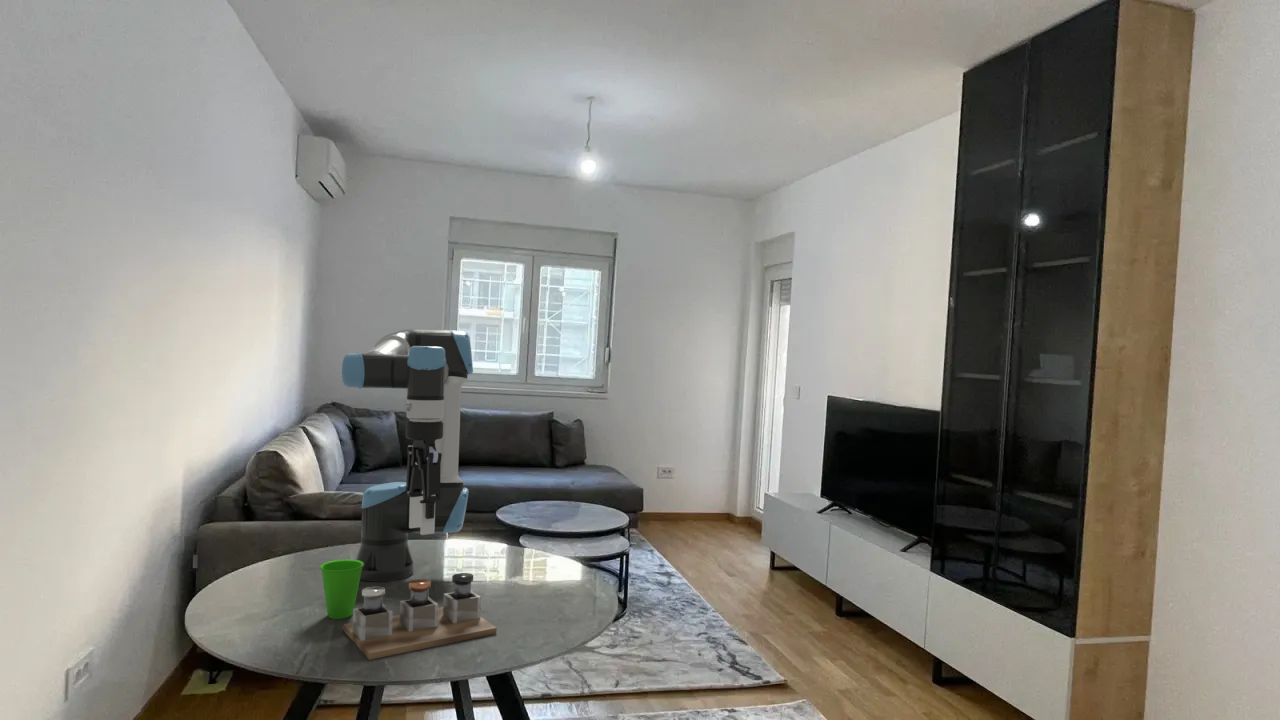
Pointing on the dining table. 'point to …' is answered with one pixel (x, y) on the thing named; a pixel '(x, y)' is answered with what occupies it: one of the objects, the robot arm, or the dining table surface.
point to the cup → (341, 586)
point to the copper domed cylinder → (419, 592)
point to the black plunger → (462, 585)
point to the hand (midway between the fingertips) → (421, 530)
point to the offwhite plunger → (373, 600)
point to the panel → (418, 626)
